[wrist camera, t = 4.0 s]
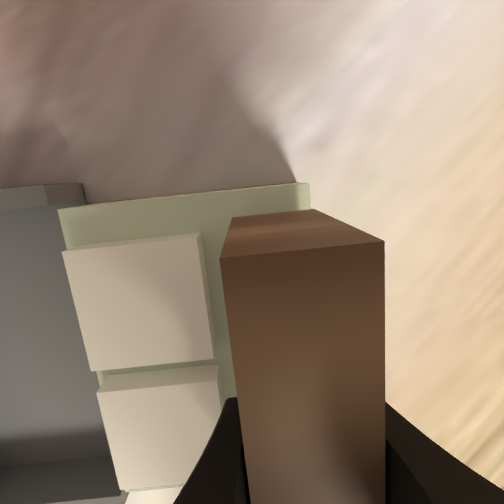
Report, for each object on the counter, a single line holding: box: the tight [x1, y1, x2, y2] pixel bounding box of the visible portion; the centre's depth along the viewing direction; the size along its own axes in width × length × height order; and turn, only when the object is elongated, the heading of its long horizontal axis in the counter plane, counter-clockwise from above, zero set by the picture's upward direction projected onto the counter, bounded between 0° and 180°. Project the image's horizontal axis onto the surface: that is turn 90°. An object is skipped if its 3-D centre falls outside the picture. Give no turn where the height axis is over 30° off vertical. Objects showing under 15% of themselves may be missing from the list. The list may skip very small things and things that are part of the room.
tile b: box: [62, 232, 216, 372], centre depth 13 cm, size 5×5×1 cm
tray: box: [0, 184, 129, 504], centre depth 15 cm, size 16×9×3 cm, turn 6°
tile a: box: [96, 364, 225, 490], centre depth 14 cm, size 5×5×1 cm
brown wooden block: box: [219, 209, 385, 504], centre depth 10 cm, size 12×3×6 cm, turn 6°
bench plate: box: [57, 183, 311, 492], centre depth 15 cm, size 14×10×3 cm
